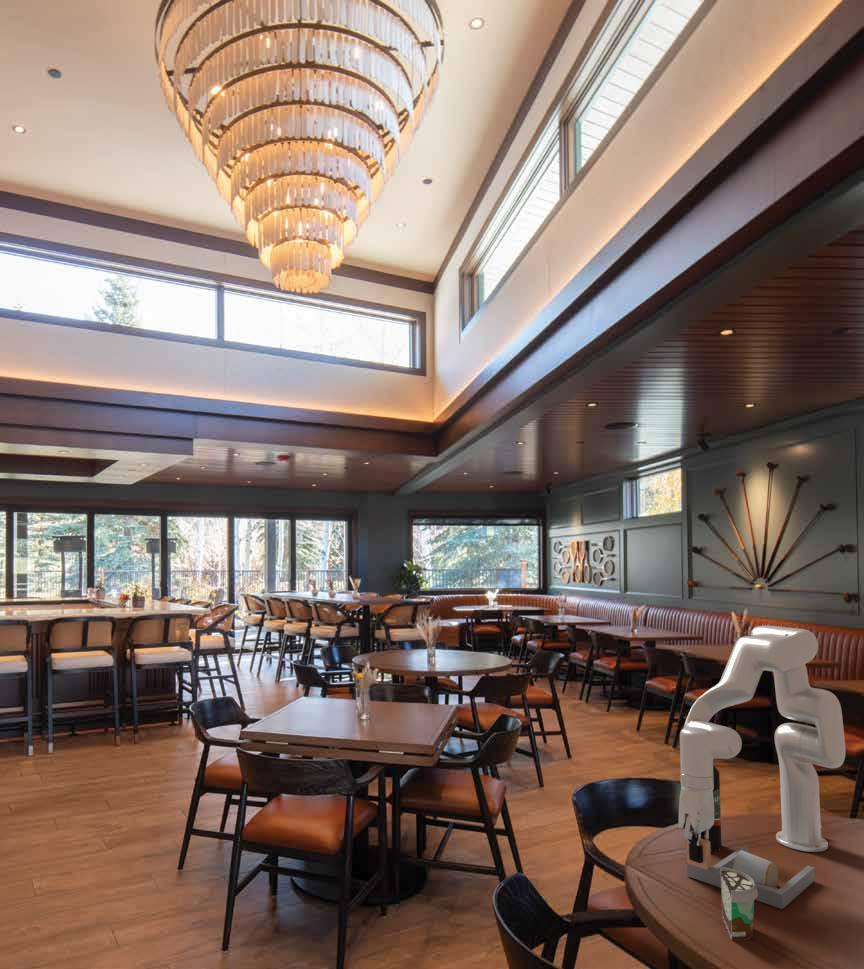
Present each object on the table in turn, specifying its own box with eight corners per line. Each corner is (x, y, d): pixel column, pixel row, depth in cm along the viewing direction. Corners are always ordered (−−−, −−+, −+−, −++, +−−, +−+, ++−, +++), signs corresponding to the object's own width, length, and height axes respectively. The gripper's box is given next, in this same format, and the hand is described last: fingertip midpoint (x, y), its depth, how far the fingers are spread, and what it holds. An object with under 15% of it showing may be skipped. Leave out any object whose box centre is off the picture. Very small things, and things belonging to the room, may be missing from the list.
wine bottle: (696, 837, 197) (693, 726, 200) (724, 844, 192) (721, 730, 195) (688, 846, 191) (685, 731, 194) (717, 853, 186) (714, 736, 189)
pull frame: (724, 852, 186) (723, 816, 187) (814, 880, 171) (812, 841, 172) (687, 876, 172) (686, 837, 173) (782, 909, 157) (780, 866, 157)
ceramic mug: (768, 901, 161) (768, 865, 161) (732, 888, 166) (731, 854, 167) (784, 886, 168) (783, 852, 169) (749, 875, 174) (748, 842, 175)
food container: (766, 947, 141) (764, 894, 142) (733, 943, 143) (731, 891, 144) (751, 917, 153) (749, 868, 154) (721, 914, 155) (719, 865, 156)
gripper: (697, 771, 182) (699, 846, 180) (666, 784, 171) (668, 864, 169) (726, 777, 176) (728, 855, 174) (696, 791, 165) (698, 874, 163)
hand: (698, 859), depth 172 cm, fingers closed on pull frame, 2 cm apart
